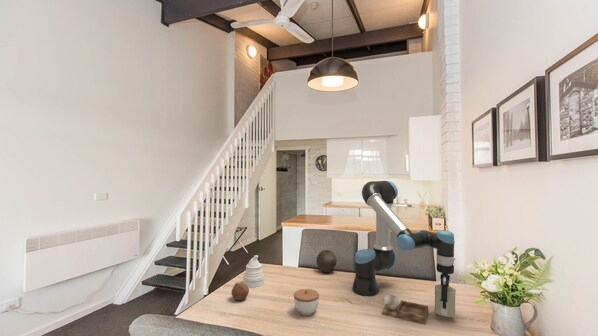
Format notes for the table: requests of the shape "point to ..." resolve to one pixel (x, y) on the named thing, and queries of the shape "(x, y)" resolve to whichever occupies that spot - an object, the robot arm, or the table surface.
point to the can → (450, 299)
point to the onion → (240, 291)
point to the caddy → (404, 310)
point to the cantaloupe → (326, 260)
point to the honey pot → (254, 273)
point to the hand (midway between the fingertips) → (444, 310)
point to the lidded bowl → (306, 301)
